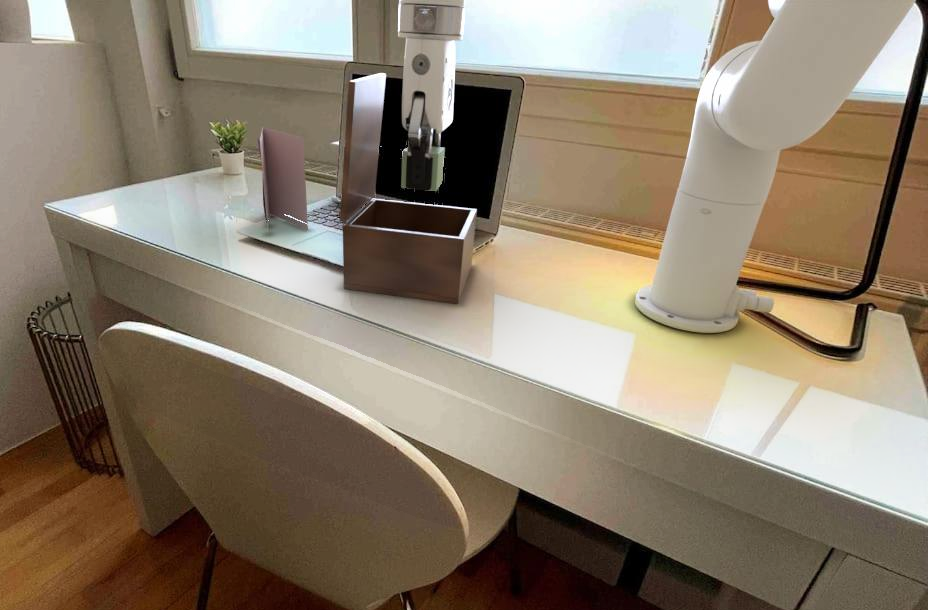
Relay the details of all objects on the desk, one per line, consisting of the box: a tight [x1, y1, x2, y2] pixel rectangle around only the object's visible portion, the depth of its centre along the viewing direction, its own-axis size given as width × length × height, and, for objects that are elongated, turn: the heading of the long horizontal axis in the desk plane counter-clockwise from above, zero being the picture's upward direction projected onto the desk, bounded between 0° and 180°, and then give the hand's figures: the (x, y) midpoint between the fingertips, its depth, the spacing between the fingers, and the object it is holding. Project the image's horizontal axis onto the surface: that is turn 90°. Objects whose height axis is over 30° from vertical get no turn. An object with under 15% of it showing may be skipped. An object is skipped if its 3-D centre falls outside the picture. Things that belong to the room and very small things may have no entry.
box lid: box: [339, 72, 387, 223], centre depth 73 cm, size 16×14×1 cm
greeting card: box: [257, 126, 309, 233], centre depth 95 cm, size 11×7×15 cm, turn 11°
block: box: [400, 146, 446, 192], centre depth 73 cm, size 5×5×5 cm
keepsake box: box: [342, 197, 478, 305], centre depth 79 cm, size 16×14×9 cm
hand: (422, 182), depth 74 cm, fingers closed on block, 4 cm apart
